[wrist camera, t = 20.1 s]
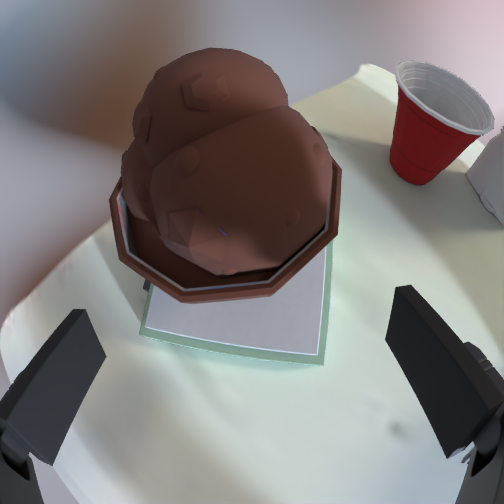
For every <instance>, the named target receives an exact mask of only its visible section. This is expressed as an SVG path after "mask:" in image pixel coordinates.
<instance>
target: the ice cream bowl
mask: <svg viewBox="0 0 504 504" xmlns="http://www.w3.org/2000/svg"><path fill="white" fill-rule="evenodd" d="M287 96H288V95H287V93H286V91H285V89H284V87H283V85H282V83H281V80H280V78H279V76H278V75H277V74H276V73H274V71H273V70H272V68H271V67H270V66H268V65H267V64H265V63H264V62H263V61H261V60H259V59H257V58H255V57H252V56H250V55H248V54H246V53H243V52H241V51H238V50H233V49H222V48H207V49H203V50H199V51H195V52H192V53H188V54H186V55H184V56H182V57H180V58H178V59H176V60H174V61H173V62H171V63H169V64H168V65H166V66H164V67H161V68H160V69H159V70H158V71H156V73H155V75H154V77H153V80H152V81H151V82H150V83H149V84H148V86H147V88H146V90H145V93H144V95H143V98H142V100H141V101H140V102H139V104H138V106H137V107H136V109H135V112H134V117H133V124H132V125H133V132H134V137H135V139H134V141H133V142H132V144H131V145H130V147H129V149H128V150H126V151H125V152H124V154H123V155H122V166H121V177H120V179H119V181H118V183H117V185H116V187H115V189H114V191H113V193H112V195H111V197H110V199H109V203H110V210H111V217H112V223H113V229H114V235H115V241H116V246H117V251H118V256H119V260H120V261H122V262H123V263H124V264H126V265H127V266H128V267H130V268H131V269H133V270H134V271H135V272H137V273H138V274H139V275H141V276H142V277H144V278H145V279H147V280H148V281H149V282H151V283H152V284H154V285H155V286H157V287H158V288H160V289H161V290H162V291H164V292H165V293H167V294H168V295H170V296H171V297H173V298H174V299H176V300H177V301H179V302H180V303H187V304H200V303H212V302H223V301H233V300H243V299H252V298H262V297H270V296H272V295H273V294H275V293H276V292H277V291H278V290H279V289H280V288H281V287H282V286H283V285H285V284H286V283H287V282H288V281H289V280H290V279H291V278H292V277H293V276H294V275H295V274H297V273H298V272H299V271H300V270H301V269H302V268H303V267H304V266H305V265H306V264H307V263H308V262H310V261H311V260H312V259H313V258H314V257H315V256H316V255H317V254H318V253H319V252H320V251H321V250H322V249H323V248H324V247H325V246H326V245H328V244H329V243H330V242H331V241H332V240H333V239H334V238H335V237H336V236H337V235H338V224H339V211H340V196H341V176H342V169H341V168H340V166H339V165H338V164H337V163H336V161H335V160H334V159H333V157H332V156H331V155H330V153H329V151H328V147H327V145H326V143H325V141H324V140H323V138H322V136H321V134H320V133H319V132H318V131H317V130H316V129H315V127H312V126H310V125H309V123H308V122H307V121H306V120H305V119H304V118H303V116H302V115H301V114H300V113H299V112H297V111H296V110H294V109H292V108H290V107H289V106H288V97H287Z"/></svg>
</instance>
